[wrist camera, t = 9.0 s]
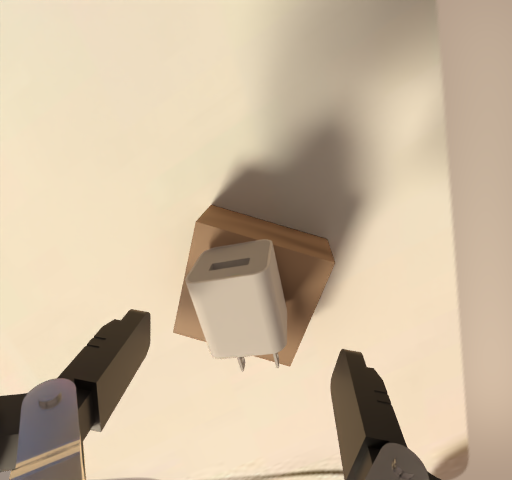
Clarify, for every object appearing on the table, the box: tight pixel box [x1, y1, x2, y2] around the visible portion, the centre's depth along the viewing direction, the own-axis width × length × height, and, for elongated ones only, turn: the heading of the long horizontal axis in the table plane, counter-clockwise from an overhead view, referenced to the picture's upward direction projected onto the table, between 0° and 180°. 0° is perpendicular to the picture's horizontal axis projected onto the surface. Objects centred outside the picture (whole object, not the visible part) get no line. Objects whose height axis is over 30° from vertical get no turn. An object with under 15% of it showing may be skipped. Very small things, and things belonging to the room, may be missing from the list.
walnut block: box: [173, 205, 335, 366], centre depth 20 cm, size 8×8×4 cm
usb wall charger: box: [185, 239, 287, 371], centre depth 16 cm, size 4×7×4 cm, turn 12°
